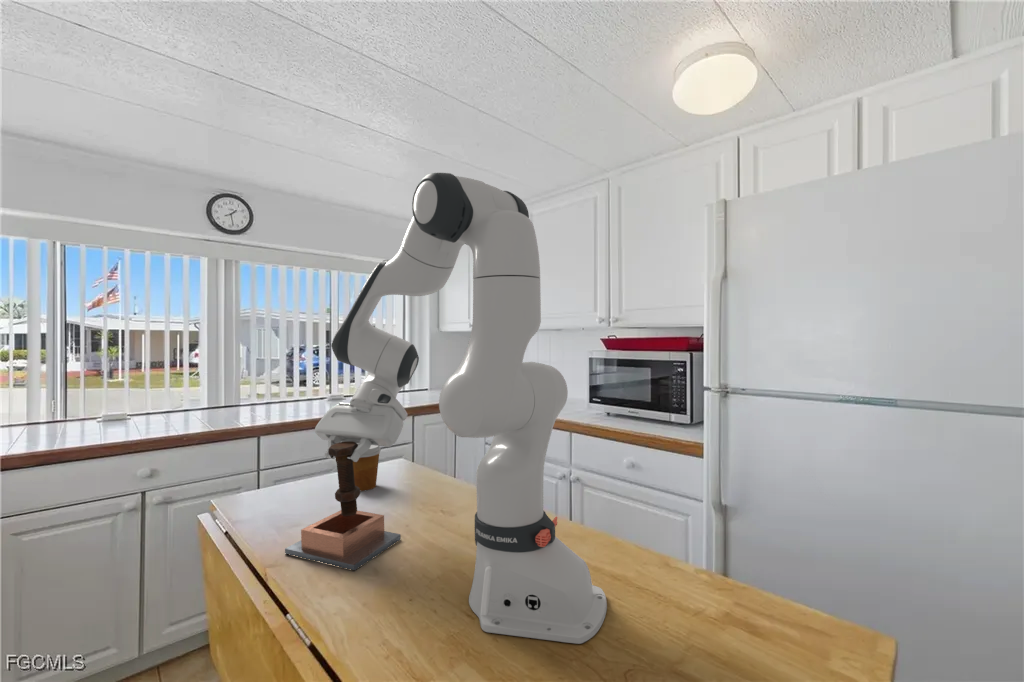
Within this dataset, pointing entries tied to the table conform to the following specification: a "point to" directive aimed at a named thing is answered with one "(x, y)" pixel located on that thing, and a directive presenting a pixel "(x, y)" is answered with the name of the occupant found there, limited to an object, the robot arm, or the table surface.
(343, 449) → the bolt
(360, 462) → the disposable coffee cup
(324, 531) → the socket
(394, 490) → the table surface
